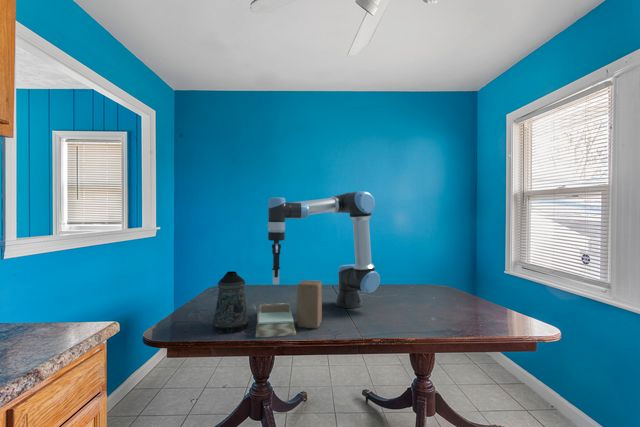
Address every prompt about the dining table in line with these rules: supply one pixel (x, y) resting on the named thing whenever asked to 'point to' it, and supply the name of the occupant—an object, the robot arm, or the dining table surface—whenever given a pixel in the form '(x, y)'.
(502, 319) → the dining table surface
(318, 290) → the wooden block
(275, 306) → the lid
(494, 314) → the dining table surface
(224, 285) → the beer stein
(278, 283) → the robot arm
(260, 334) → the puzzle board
